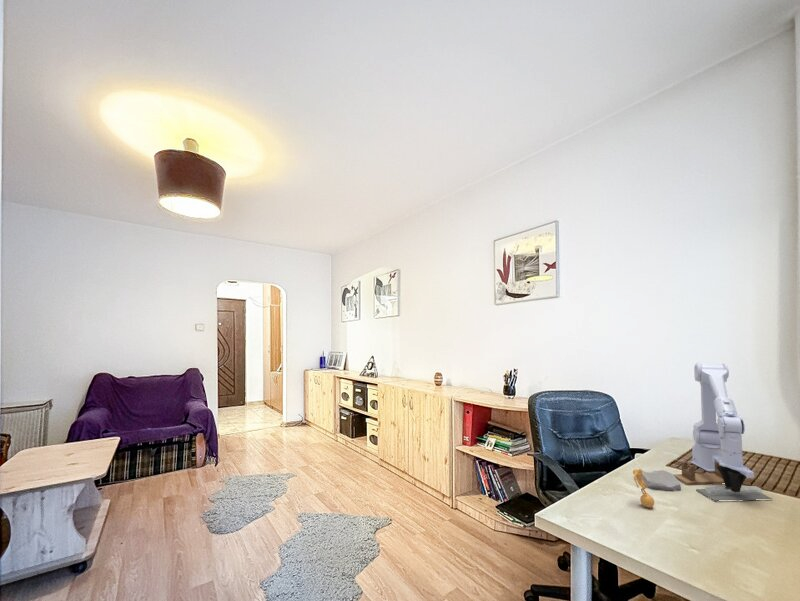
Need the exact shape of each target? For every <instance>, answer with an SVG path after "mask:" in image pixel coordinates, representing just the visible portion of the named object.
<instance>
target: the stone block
mask: <svg viewBox="0 0 800 601" xmlns="http://www.w3.org/2000/svg"><path fill="white" fill-rule="evenodd" d="M642 474H643V475H644V476H645V477H646V479H647V480H646V479H645V478H644V477H643V476H642V480H643V481H644V482H645V484H646V485H647V488H648V489H656V490H664V491H670V490H671V491H673V492H674V491H675V490H677V491H681V489H682V486H681V482H680V481H679V480H678V479H677V478H676V477H675V476H674V475H673V473H671V472H669V471H668V470H661V469H660V470H654V471H651V472H649V471H643V470H642ZM671 491H670V492H671Z"/></svg>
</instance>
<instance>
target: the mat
mask: <svg viewBox="0 0 800 601" xmlns="http://www.w3.org/2000/svg"><path fill="white" fill-rule="evenodd" d="M695 491H696V492H698V493H699V494H700V493H701V494H700V495H702V494H703V495H702V496H704V495H705V496H707V497H709V498H711V499H712V500H714V501H719V500H756V499H772V500H773V498H772V497H770V496H768V495H767V494H764V493H762V492H761V494H758V495H724V496H710V495H708V494H706V488H697V489H695ZM705 496H704V497H705ZM707 497H706V498H707ZM709 498H708V499H709ZM712 500H711V501H712ZM714 501H713V502H714Z"/></svg>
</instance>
